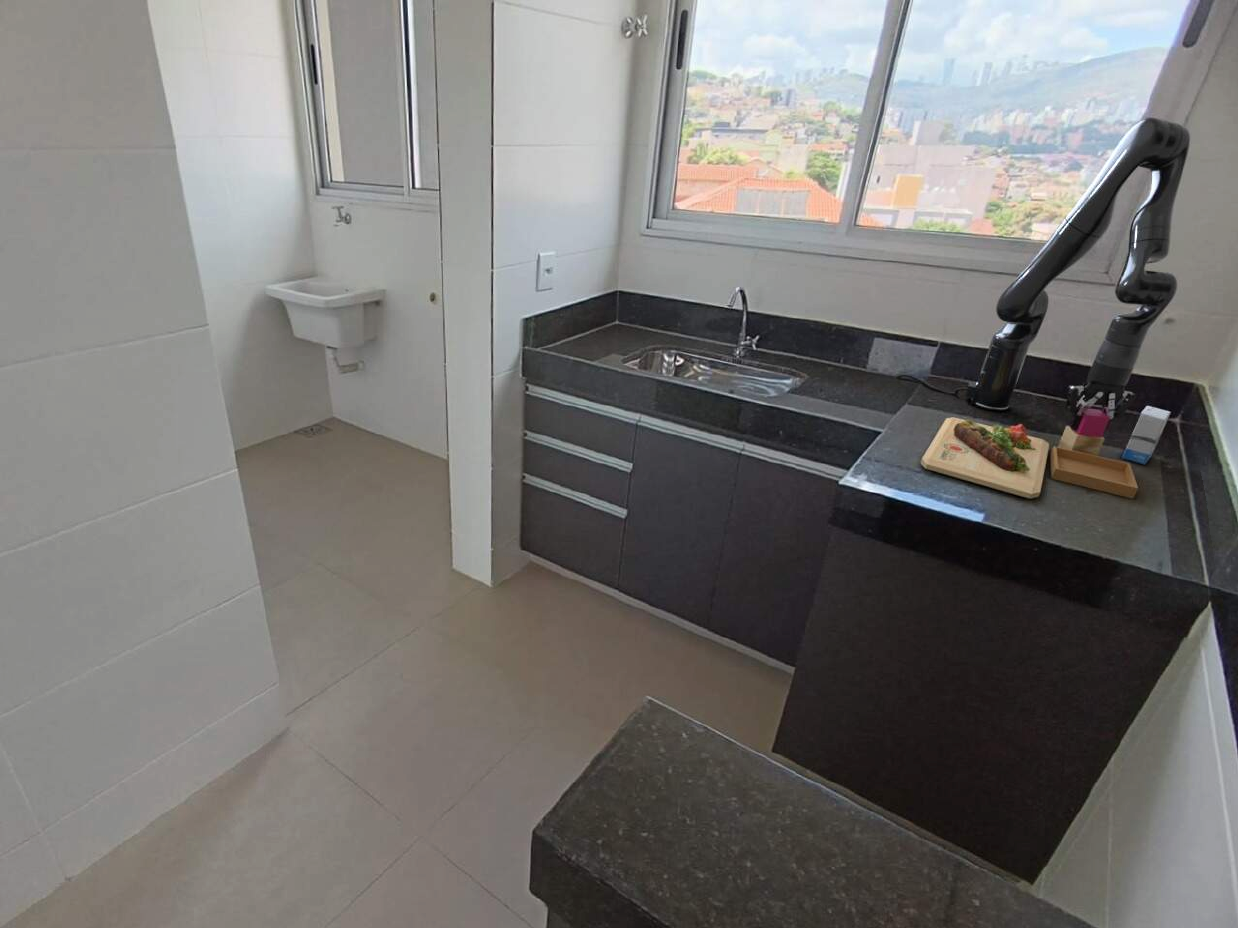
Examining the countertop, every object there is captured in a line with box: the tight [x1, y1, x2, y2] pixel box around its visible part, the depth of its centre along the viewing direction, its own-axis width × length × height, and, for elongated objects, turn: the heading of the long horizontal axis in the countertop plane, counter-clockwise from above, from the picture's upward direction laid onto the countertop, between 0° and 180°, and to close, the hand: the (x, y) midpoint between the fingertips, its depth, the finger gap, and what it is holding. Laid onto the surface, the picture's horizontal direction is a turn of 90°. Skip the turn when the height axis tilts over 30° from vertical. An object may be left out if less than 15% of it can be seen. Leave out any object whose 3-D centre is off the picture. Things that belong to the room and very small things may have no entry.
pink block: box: [1074, 408, 1110, 437], centre depth 154 cm, size 5×5×5 cm
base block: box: [1057, 425, 1105, 456], centre depth 157 cm, size 6×6×6 cm
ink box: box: [1121, 405, 1172, 465], centre depth 157 cm, size 9×5×12 cm, turn 134°
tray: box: [1049, 445, 1139, 500], centre depth 147 cm, size 15×14×3 cm
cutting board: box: [920, 417, 1050, 499], centre depth 152 cm, size 35×23×8 cm
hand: (1085, 430), depth 155 cm, fingers closed on pink block, 5 cm apart
